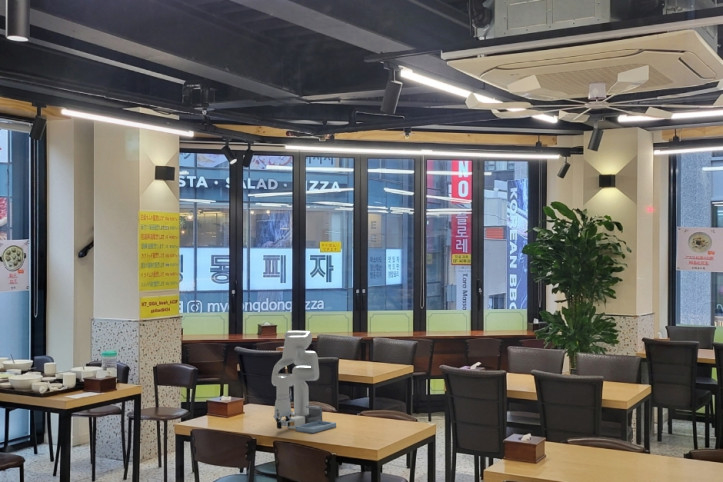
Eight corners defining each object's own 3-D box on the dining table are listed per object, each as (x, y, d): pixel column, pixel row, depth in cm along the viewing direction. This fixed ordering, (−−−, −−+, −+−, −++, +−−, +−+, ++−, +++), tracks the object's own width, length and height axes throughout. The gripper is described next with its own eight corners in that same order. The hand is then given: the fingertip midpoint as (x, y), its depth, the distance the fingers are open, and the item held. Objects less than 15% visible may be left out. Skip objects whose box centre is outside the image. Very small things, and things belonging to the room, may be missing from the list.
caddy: (297, 425, 488) (297, 415, 489) (305, 426, 485) (305, 416, 485) (278, 430, 475) (278, 420, 475) (286, 431, 472) (286, 421, 472)
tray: (319, 424, 490) (319, 420, 490) (336, 427, 482) (336, 422, 482) (295, 430, 473) (295, 426, 473) (313, 433, 465) (313, 429, 465)
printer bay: (310, 421, 500) (310, 404, 501) (322, 422, 495) (322, 406, 495) (297, 424, 491) (297, 408, 491) (309, 426, 485) (309, 409, 485)
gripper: (288, 394, 483) (288, 424, 483) (268, 398, 469) (268, 429, 469) (297, 395, 479) (297, 425, 478) (277, 399, 465) (278, 430, 464)
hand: (283, 427), depth 474 cm, fingers open, 6 cm apart
